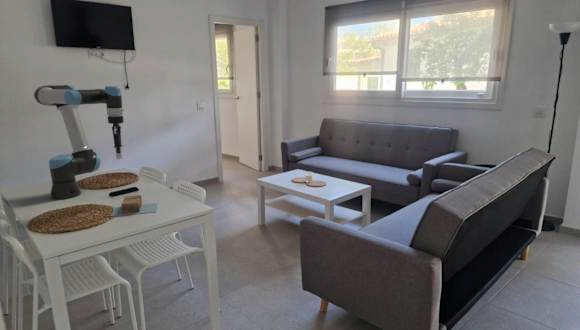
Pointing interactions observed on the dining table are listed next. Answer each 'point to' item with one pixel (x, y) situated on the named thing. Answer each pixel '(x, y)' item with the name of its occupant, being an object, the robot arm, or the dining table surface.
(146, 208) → the mat
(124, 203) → the walnut block
